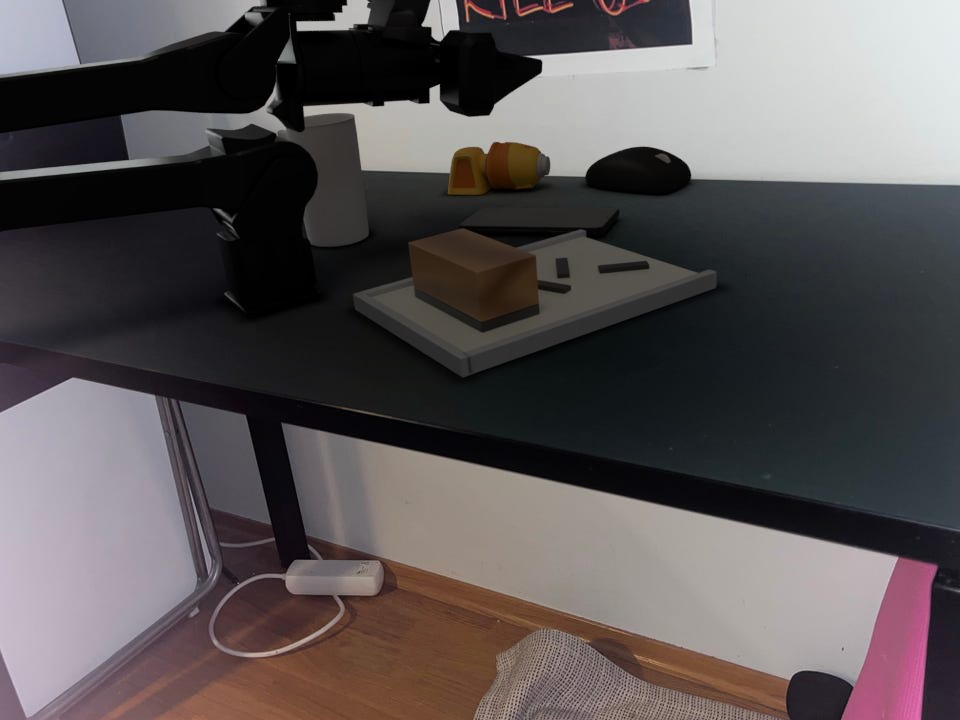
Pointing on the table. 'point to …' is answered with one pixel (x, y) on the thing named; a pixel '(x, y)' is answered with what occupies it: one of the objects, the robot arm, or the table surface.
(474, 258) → the eraser
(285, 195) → the robot arm
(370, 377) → the table surface
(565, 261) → the mark
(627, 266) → the mark
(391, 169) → the table surface
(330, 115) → the mug
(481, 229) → the smartphone
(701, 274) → the grey tray
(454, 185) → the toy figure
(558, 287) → the mark
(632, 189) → the computer mouse
